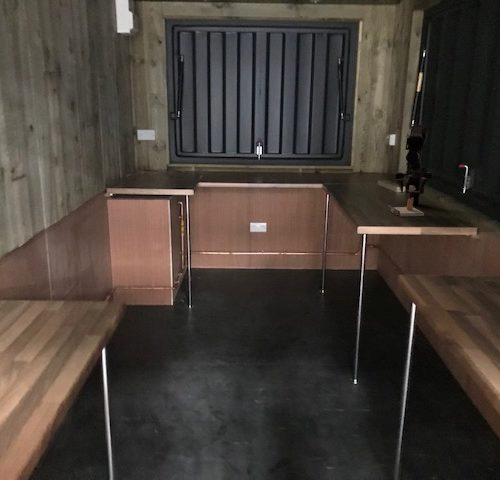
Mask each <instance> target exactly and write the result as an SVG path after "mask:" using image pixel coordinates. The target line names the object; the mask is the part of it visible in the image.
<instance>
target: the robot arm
mask: <svg viewBox="0 0 500 480" xmlns="http://www.w3.org/2000/svg"><path fill="white" fill-rule="evenodd" d="M409 133H410V134H408V137H406V141H405V142H406V143H405V151H407V154H406V155H405V160H406V163H405V165H406V170H405V173H403V172H402V171H394V172H392V174H391V178H392V179H394V180H395V181H396V182H397V184H398V187H399V191H400V193H401V194H403V193H404V182H405V179H404V178H408V180H407V181H406V191H405V193H406V194H409V193H410V192H409V186H410V185H413V186H414V187H415V188H416V190H414V192H413V193H414V200H413V204H412V205H413V206H421V205H422V203H421V202H420V197H421V196H420V195H423V194H425V185H426V183H427V182H428V181H430V180H431V179H432V180H433V178H434V177H433V176H434V174H433V173H432V172H430V171H428V168H427V167H421V164H422V163H421V161H422V150H423V149H424V147H425V144H426V141H427V140H428V129H427V128H425V126H424V125H423V124H415V125H414V124H413V127H412V128H411V129H410V131H409ZM408 200H409V198H408ZM408 200H407V201H406V202H405V204H407V203H408Z"/></svg>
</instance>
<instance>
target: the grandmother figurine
mask: <svg viewBox="0 0 500 480" xmlns="http://www.w3.org/2000/svg"><path fill="white" fill-rule="evenodd" d="M414 190H416V188H415V187H414V186H413V185H410V186H409V190H408V191H409V192H410V193H408V199H409V200H407V202H408V203H406V207H407V210H408V211H413V208H414V205H412V204H413V200H414V193H413V192H414Z"/></svg>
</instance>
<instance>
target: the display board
mask: <svg viewBox="0 0 500 480" xmlns="http://www.w3.org/2000/svg"><path fill="white" fill-rule="evenodd" d="M388 210H389V211H388ZM387 211H388V212H390V211H391V212H392V214H393V213H394V214H393V215H395V214H396V215H398V216H397V217H424V216H425V213H424V212H423V211H421V210H420V209H418V208H415V207H413V211H408V210H407V206H402V207H401V206H398V207H397V206H395V207H393V206H392V205H388V206H387ZM391 212H390V213H391ZM396 215H395V216H396Z"/></svg>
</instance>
